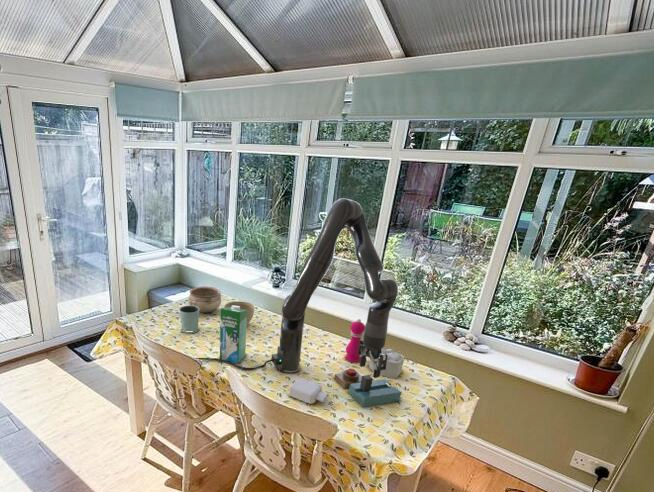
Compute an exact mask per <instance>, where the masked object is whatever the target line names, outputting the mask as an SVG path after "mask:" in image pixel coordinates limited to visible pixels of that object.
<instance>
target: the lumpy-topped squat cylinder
mask: <svg viewBox="0 0 654 492" xmlns="http://www.w3.org/2000/svg"><path fill="white" fill-rule="evenodd" d="M382 354H384V355H385V354H387V364H386V370H381V371H380V376H383V377H387V378H390V379H396V378H398V377H399V375H400V374H401V373H402V370H403V366H404V361H405V356H404V355H403V354H402V353H398V352H395V350H394V349H392V348H387V349H385V348H382ZM375 361H378V358H377V359H375ZM377 366H378V363H377ZM382 366H383V365H382ZM368 367H369V369H370V370H371V371H372V372H374V369H375V368H374V364H373V363H372V361H371V359H370V358H369V364H368Z"/></svg>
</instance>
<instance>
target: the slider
mask: <svg viewBox="0 0 654 492" xmlns="http://www.w3.org/2000/svg"><path fill="white" fill-rule="evenodd" d="M361 376H362V379H361V385H360V387H361V391H362V392H366V391H369V390H371V385H372V381H373V378H374V377H373V376H371V375H370V374H365V375H361Z"/></svg>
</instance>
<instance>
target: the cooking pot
mask: <svg viewBox="0 0 654 492" xmlns="http://www.w3.org/2000/svg"><path fill="white" fill-rule="evenodd" d="M189 293H190V294H189V295H188V302H187V304H189V306H197V307H198V308H199V313H201V314H209V313H212V312H213V311H215V310H217V309H219V307H220V306H221V303H222V297H221V296H222V295H221V294H222V293H221V290H220V289H219V288H217V287H214V286H196V287H193V288H191V289H190V290H189Z"/></svg>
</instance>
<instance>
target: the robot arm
mask: <svg viewBox="0 0 654 492" xmlns="http://www.w3.org/2000/svg"><path fill="white" fill-rule="evenodd" d="M345 227H346V229H347V230H348V232H349V233H350V235H351V237H352V241H353V244H354V245H353V246H354V252H355V257H356V261H357V263H358V265H359V267H360V269H361V271H362V274H363V281H364V286H365V291H366V294H367V296H368V297H369V298H370V300H372V301H374V303H373V304H371V305H370V306H369V308H368V310H367V311H368V312H367V317H366V323H365V324H364V326H365V330H364V331H363V339H361V340H359V345H358V350H357V354H359V355H360V361H359V367H360V368H363V367H366V364H367V358H369V360H370V359H371V361H372V363H373V364H374V368H375V369H374V371H373V374H372V378H374V379H378V378H380V376H381V375H380V371H381V370H386V364H387V354H385V355H384V354H382V349H384V347H385V344H386V339H387V334H388V328H389V327H388V325H389V318H390V312H391V310H392V308H393V306H394V304H395V301H396V300H397V298H398V293H399V286H398V283H397V282H396V280H394V279H392V278H382V279H380V274H381V273H382V272H383V271H384V268H385V267H384V264H383V263H382V260H381V258H380V255H379V254H378V251H377V249H376V248H375V247H376V246H375V245H374V243H373V240H372V237H371V235H370V232H369V228H368V225H367V222H366V218H365V214H364V210H363V207H362V206H361V204H360V203H359V202H357V201H355V200H353V199H349V198H345V197H342V198H341V197H340V198H339V199H337V200H335V201H334V202H333V204H332V205H331V207H330V208H329V210H328V212H327V215H326V217H325V221H324V223H323V225H322V228H321V230H320V232H319V234H318V236H317V238H316V240H315V242H314V245H313V246H312V248H311V250H310V251H309V253H308V255H307V257H306V259H305V261H304V263H303V266H302V268H301V271H300V272H299V276H298V278H297V281H296V284H295V287H294V288H293V290H292V292H291V293H290V294H288V295H287V296H286V297H285V298H284V300H283V302H282V306H281V313H282V314H281V315H282V318H281V323H280V336H279V346H277V350H276V353H272V354H271V358H270V359H269V360H266V361H265V362H264V363H263V364H261V365H259V366H256V367H246V366H240V365H238V364H237V363H233V362H230V361H226V360H222V359H220V358H216V357H196V358H195V359H199V360H198V361H200V360H201V361H202V360H203V361H218V362H223V363H227V364H230V365H232V366H234V367H236V368H238V369H240V370H241V369H242V370H256V369H259V368H264V367H266V365H267V364H268V363H273V365H274V366H276V367H277V368H278V370H280V372H281V373H288V374H292V373H296V372H298V371H299V370H300V365H301V362H302V359H301V354H302V345H303V335H304V334H303V333H304V328H305V327H304V325H305V317H306V308H307V307H308V304H309V302H310V300H311V298H312V296H313V294H314V292H315V291H316V289H318V287H319V285H320V284H321V282H322V281H323V279H324V277H325V275H326V274H327V272H328V271H329V269H330V267H331V266H332V263H333V261H334V257H335V252H336V251H335V250H336V245H337V240H338V238H339V236H340V235H341V232H342V230H343V229H344V228H345ZM361 349H362V350H361ZM360 350H361V351H360ZM377 358H378V361H375V359H377ZM377 363H378V366H377ZM382 365H383V366H382Z"/></svg>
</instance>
